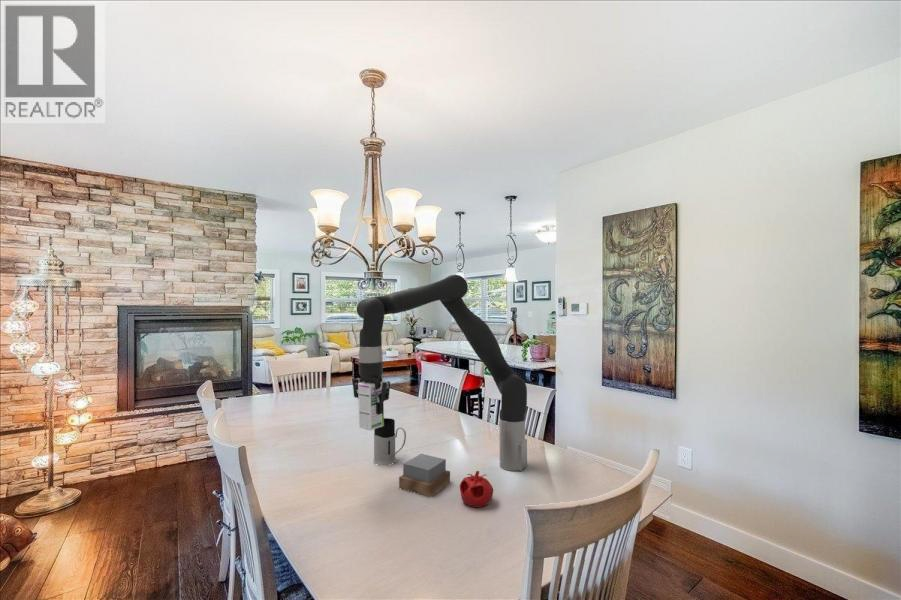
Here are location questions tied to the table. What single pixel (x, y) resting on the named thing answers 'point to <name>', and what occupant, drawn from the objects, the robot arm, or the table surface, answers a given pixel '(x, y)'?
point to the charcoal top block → (424, 468)
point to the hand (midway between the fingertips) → (371, 412)
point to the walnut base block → (424, 484)
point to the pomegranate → (476, 490)
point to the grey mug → (386, 443)
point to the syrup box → (369, 407)
